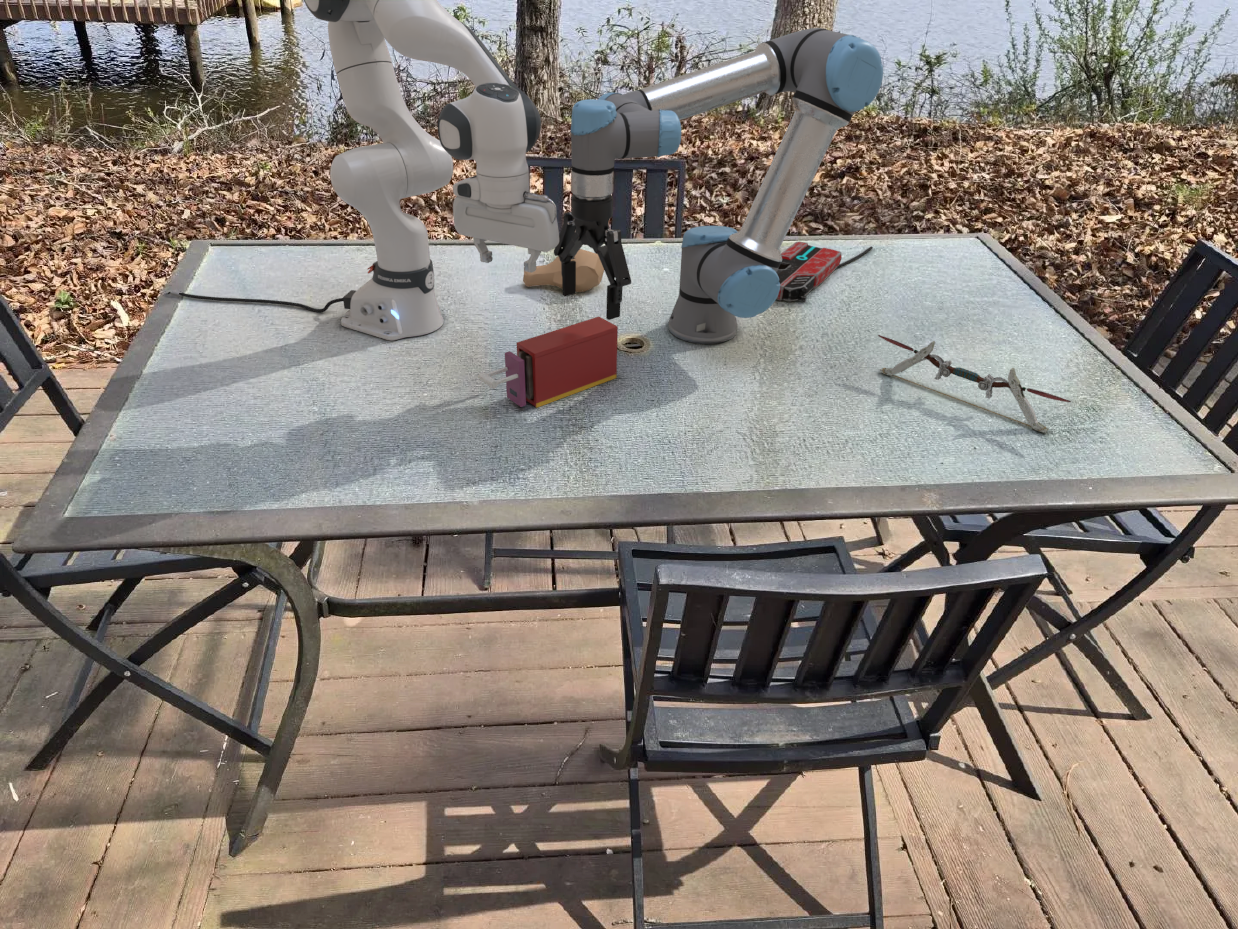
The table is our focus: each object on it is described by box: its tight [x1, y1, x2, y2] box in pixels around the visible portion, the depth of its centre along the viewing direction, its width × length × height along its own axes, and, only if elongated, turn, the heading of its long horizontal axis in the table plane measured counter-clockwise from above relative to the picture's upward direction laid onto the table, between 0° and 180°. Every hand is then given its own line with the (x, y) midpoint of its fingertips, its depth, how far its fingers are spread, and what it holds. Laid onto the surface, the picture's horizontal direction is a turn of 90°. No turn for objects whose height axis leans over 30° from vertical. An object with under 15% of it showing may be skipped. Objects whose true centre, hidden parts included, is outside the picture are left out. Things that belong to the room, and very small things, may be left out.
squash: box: [522, 248, 605, 293], centre depth 213 cm, size 11×20×9 cm, turn 90°
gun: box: [776, 241, 843, 303], centre depth 223 cm, size 4×31×19 cm
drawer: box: [477, 350, 534, 408], centre depth 166 cm, size 25×5×10 cm, turn 130°
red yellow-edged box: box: [516, 316, 619, 409], centre depth 170 cm, size 20×6×11 cm, turn 130°
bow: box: [877, 334, 1072, 434], centre depth 169 cm, size 39×2×10 cm, turn 47°
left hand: (508, 266), depth 157 cm, fingers open, 8 cm apart
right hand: (590, 305), depth 167 cm, fingers open, 13 cm apart
